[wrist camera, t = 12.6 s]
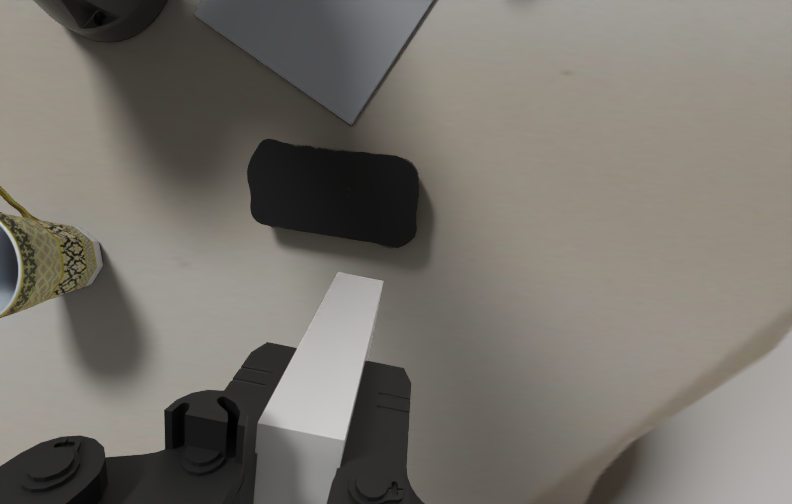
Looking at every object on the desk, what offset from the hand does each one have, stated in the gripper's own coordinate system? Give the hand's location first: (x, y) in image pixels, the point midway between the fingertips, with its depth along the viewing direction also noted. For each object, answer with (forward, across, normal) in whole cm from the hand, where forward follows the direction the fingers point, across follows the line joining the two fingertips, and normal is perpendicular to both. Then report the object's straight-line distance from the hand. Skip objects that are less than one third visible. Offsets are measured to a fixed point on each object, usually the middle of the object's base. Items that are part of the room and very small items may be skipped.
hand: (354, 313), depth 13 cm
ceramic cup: (+29, -34, -15) cm, 47 cm away
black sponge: (+28, -6, -3) cm, 29 cm away
